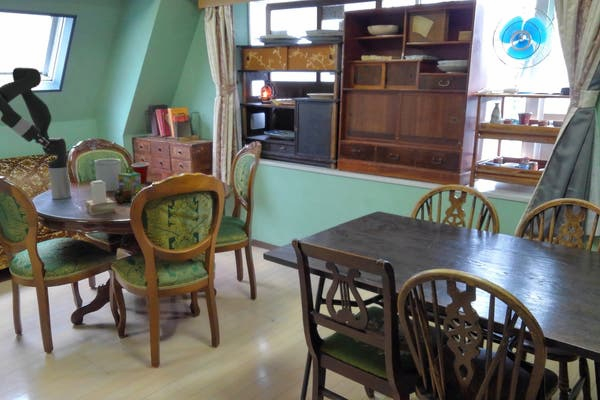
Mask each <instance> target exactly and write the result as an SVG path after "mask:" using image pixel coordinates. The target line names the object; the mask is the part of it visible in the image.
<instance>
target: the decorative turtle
mask: <svg viewBox="0 0 600 400" xmlns="http://www.w3.org/2000/svg"><path fill="white" fill-rule="evenodd" d="M133 195H134V194H133V193H132V191H131V190H129V189H128V188H119V189H117V190H115V191H113V198H114V199H115V202H117V203H119V204H121V205H122V204H123V203H124V202H125V201H127V202H128V203H131V202H132V200H133Z"/></svg>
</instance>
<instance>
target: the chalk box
mask: <svg viewBox="0 0 600 400" xmlns="http://www.w3.org/2000/svg"><path fill="white" fill-rule="evenodd" d="M129 170H130V171H129ZM118 182H119V188H128V189H129V190H131V191H132V193H133V195H136V194H138V193H137V192H139V191H140V190H141V191H142V183H141V176H140V173H135V172H134V170H133V167H126V169H125V172H121V174H118Z"/></svg>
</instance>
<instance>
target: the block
mask: <svg viewBox="0 0 600 400" xmlns="http://www.w3.org/2000/svg"><path fill="white" fill-rule="evenodd" d="M106 198H107V202H101V203H94V202H93V201H92V199H89V200H85V208H86V211H87V212H88V213H89V214H90V215H91V216H95V215H102V214H108V213H115V212H116V207H115V206H116V205H115V201H113V200H112V199H111V198H109V197H106Z"/></svg>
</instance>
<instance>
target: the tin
mask: <svg viewBox="0 0 600 400" xmlns="http://www.w3.org/2000/svg"><path fill="white" fill-rule="evenodd" d="M90 192H91V200H92V201H93V202H94V203H101V202H107V198H108V197H107V191H106V188H105V183H104V182H103V181H102V180H98V181H97V180H92V181H91V182H90Z"/></svg>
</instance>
